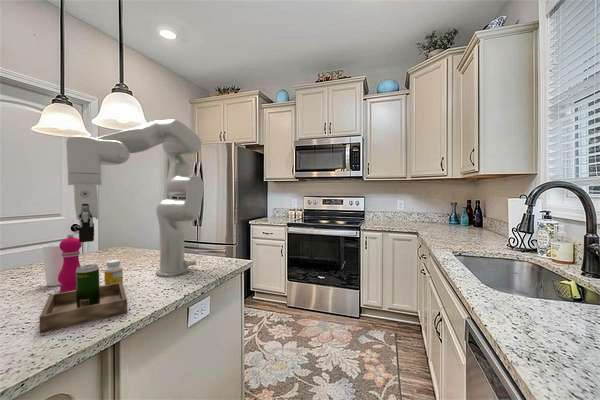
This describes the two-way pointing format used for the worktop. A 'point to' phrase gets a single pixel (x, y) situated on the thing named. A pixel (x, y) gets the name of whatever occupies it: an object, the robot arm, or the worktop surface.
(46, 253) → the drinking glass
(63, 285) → the pepper mill
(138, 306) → the worktop surface
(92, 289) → the beer can
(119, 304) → the box
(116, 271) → the supplement bottle
